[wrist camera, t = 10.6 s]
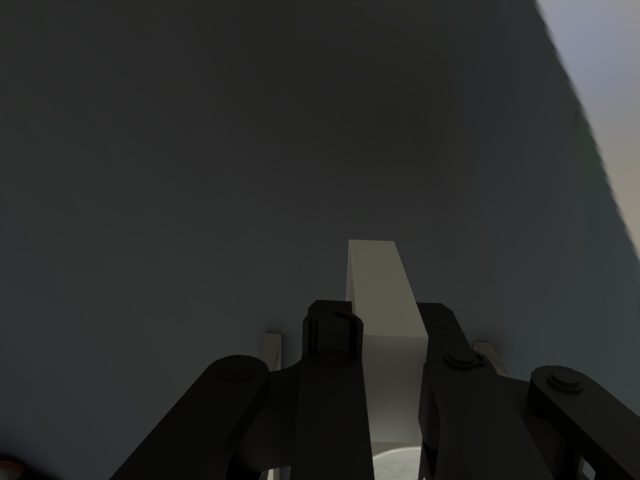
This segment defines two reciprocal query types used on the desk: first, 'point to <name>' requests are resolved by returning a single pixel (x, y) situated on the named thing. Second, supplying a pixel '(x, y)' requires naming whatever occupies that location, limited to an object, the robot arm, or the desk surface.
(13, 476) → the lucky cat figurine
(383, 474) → the white cup
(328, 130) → the desk surface
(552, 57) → the desk surface
